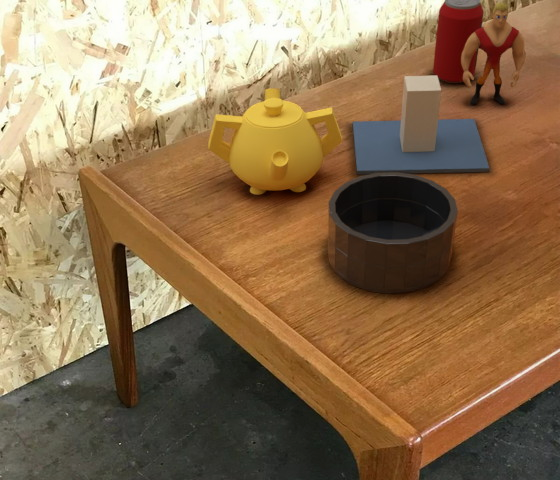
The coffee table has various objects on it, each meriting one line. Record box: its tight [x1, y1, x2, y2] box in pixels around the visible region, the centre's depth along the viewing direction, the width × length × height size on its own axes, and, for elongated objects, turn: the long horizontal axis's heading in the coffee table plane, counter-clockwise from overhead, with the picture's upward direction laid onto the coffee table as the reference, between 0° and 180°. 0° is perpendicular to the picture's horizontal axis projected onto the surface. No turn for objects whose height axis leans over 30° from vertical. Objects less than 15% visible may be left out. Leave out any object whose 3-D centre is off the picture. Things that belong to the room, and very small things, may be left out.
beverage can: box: [432, 0, 485, 84], centre depth 125 cm, size 7×7×12 cm
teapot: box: [207, 87, 343, 196], centre depth 105 cm, size 20×18×11 cm
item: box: [400, 74, 442, 152], centre depth 110 cm, size 4×4×9 cm
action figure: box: [461, 1, 526, 106], centre depth 117 cm, size 10×4×15 cm, turn 87°
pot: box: [327, 172, 459, 295], centre depth 93 cm, size 15×15×7 cm
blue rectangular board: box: [352, 118, 490, 175], centre depth 113 cm, size 18×14×1 cm
